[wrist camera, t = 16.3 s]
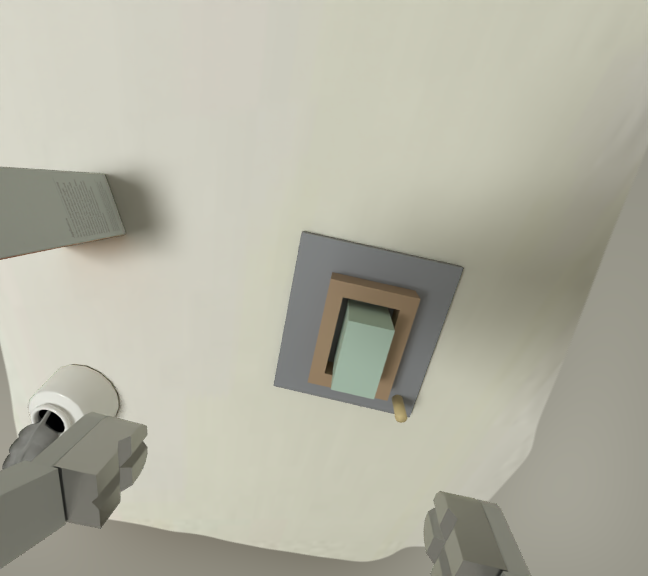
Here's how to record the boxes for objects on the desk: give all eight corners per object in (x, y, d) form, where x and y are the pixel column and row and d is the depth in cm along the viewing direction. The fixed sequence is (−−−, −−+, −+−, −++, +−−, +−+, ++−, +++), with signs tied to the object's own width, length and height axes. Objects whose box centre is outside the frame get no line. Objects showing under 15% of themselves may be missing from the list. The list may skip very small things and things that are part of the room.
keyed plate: (303, 231, 31) (296, 236, 27) (460, 266, 31) (475, 276, 27) (275, 381, 36) (266, 402, 33) (408, 412, 36) (414, 437, 32)
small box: (62, 247, 34) (-107, 280, 21) (36, 187, 32) (-164, 184, 20) (128, 235, 33) (-8, 262, 20) (106, 172, 31) (-59, 159, 18)
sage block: (334, 356, 34) (330, 389, 28) (348, 297, 32) (348, 320, 26) (370, 364, 34) (373, 399, 28) (387, 305, 32) (394, 331, 26)
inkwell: (122, 375, 38) (46, 436, 29) (113, 480, 44) (48, 560, 34) (50, 354, 38) (-50, 408, 29) (51, 462, 44) (-33, 537, 34)
